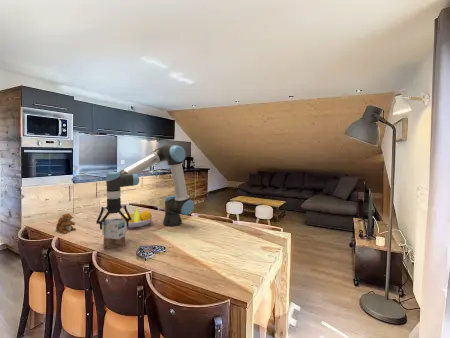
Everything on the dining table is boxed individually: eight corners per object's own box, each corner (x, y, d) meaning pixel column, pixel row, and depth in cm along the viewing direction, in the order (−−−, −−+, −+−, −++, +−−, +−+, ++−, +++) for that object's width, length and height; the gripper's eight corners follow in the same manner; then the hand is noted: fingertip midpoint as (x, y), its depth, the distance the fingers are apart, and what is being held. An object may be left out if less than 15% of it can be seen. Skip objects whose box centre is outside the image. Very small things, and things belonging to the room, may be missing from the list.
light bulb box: (125, 235, 149) (125, 218, 148) (118, 239, 142) (117, 221, 142) (111, 234, 152) (110, 217, 151) (103, 237, 145) (102, 220, 144)
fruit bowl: (147, 230, 181) (147, 215, 180) (111, 230, 181) (110, 215, 180) (158, 220, 209) (158, 207, 208) (127, 219, 209) (126, 206, 208)
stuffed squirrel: (65, 234, 171) (65, 216, 170) (50, 232, 175) (50, 214, 174) (78, 230, 180) (77, 212, 179) (63, 228, 184) (63, 211, 183)
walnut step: (124, 239, 163) (123, 230, 163) (125, 245, 152) (125, 236, 152) (104, 241, 158) (103, 232, 157) (103, 248, 147) (103, 239, 147)
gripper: (134, 195, 154) (135, 228, 156) (91, 198, 143) (92, 233, 145) (135, 197, 147) (136, 232, 149) (90, 200, 136) (91, 238, 138)
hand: (114, 233), depth 147 cm, fingers closed on light bulb box, 12 cm apart
